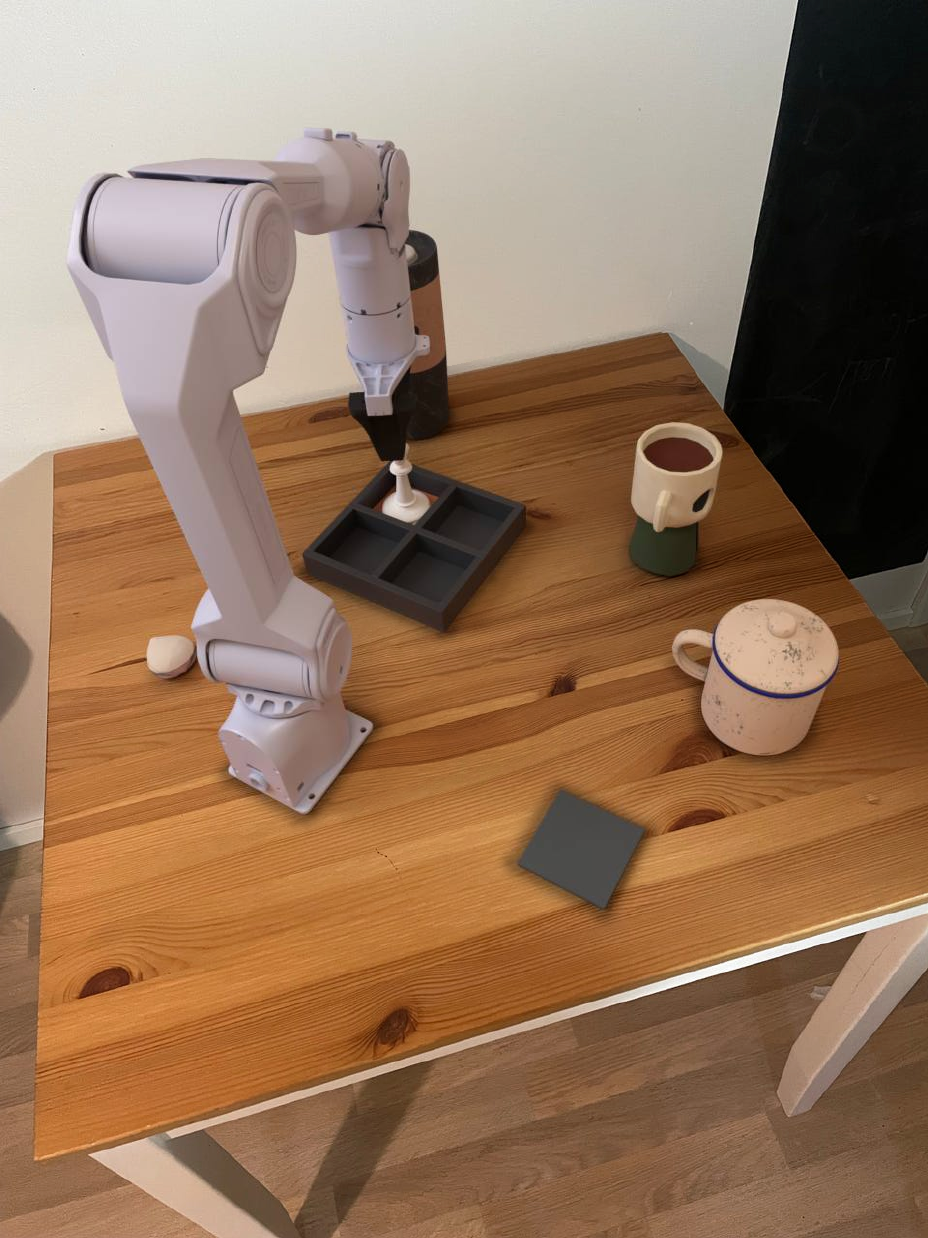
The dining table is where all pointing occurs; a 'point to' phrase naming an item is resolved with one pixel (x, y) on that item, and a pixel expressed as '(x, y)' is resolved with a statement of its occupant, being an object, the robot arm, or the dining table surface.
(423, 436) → the travel mug
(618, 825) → the coaster
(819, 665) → the teacup with lid
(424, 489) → the tray
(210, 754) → the dining table surface
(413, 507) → the chess piece
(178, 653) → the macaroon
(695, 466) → the character mug
